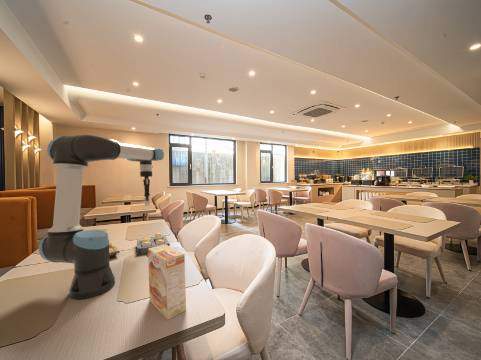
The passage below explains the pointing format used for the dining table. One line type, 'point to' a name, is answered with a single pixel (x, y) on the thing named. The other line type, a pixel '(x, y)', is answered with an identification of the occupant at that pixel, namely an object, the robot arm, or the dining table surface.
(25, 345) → the dining table surface
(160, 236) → the button
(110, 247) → the puzzle game
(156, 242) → the button
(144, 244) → the button
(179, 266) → the coffeecake box
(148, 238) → the button
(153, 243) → the button board
